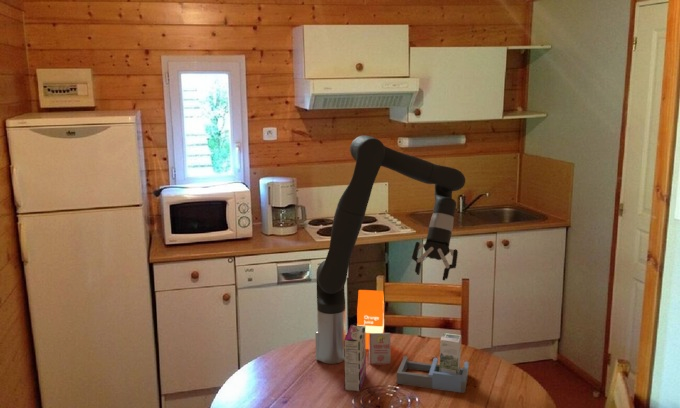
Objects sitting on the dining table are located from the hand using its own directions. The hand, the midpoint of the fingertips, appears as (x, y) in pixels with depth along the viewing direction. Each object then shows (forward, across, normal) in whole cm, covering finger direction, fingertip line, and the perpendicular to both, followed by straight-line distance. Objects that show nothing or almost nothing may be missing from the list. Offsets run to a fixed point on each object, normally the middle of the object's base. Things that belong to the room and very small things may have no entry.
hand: (430, 277), depth 189 cm
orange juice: (+26, -18, +17) cm, 36 cm away
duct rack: (+31, +7, -1) cm, 32 cm away
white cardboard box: (+30, -12, +6) cm, 33 cm away
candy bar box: (+37, -15, -9) cm, 41 cm away
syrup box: (+30, +12, -1) cm, 33 cm away
